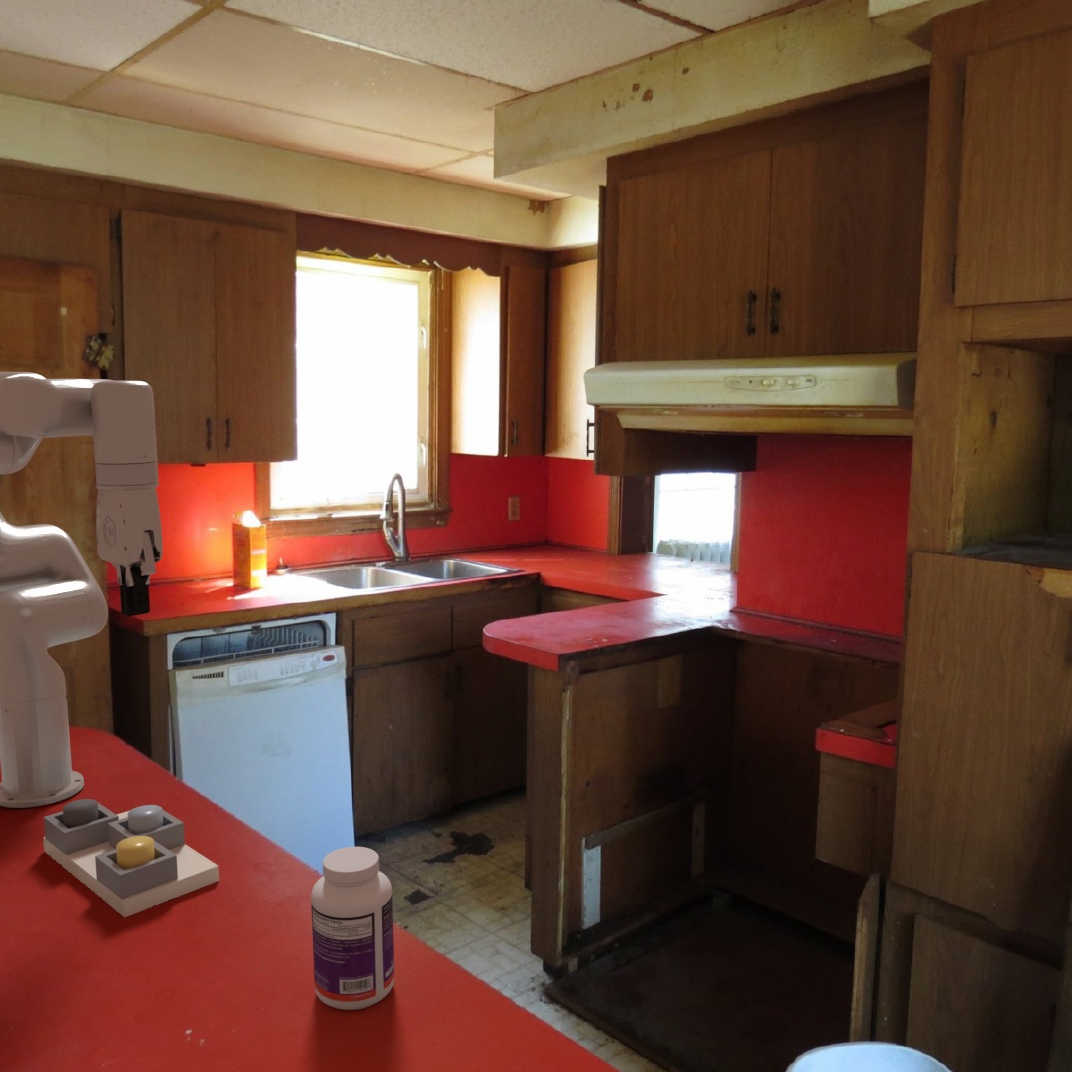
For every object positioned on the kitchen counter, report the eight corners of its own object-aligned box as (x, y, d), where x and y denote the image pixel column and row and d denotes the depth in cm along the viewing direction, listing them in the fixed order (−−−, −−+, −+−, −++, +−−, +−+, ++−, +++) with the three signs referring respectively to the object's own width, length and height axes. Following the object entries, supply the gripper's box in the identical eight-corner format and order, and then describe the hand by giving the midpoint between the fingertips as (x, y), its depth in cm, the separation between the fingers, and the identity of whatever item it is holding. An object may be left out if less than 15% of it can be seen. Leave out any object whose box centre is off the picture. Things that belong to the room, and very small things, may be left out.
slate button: (123, 841, 130) (121, 811, 130) (154, 830, 133) (153, 802, 133) (138, 851, 128) (136, 821, 127) (169, 840, 131) (168, 811, 130)
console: (44, 851, 133) (41, 815, 132) (132, 823, 142) (130, 789, 141) (124, 917, 117) (121, 877, 116) (219, 880, 125) (217, 843, 124)
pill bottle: (359, 959, 108) (355, 833, 106) (411, 987, 103) (408, 855, 101) (298, 994, 102) (293, 861, 100) (350, 1026, 97) (345, 886, 95)
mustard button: (112, 875, 121) (110, 843, 121) (145, 863, 124) (144, 832, 124) (127, 886, 119) (125, 855, 118) (161, 874, 122) (159, 843, 121)
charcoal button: (59, 834, 132) (57, 805, 132) (91, 824, 135) (89, 796, 135) (72, 844, 130) (70, 815, 129) (105, 834, 133) (103, 805, 132)
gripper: (74, 474, 133) (84, 609, 136) (124, 482, 123) (133, 628, 126) (130, 471, 139) (137, 601, 141) (182, 478, 128) (189, 618, 131)
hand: (135, 613), depth 134 cm, fingers closed
